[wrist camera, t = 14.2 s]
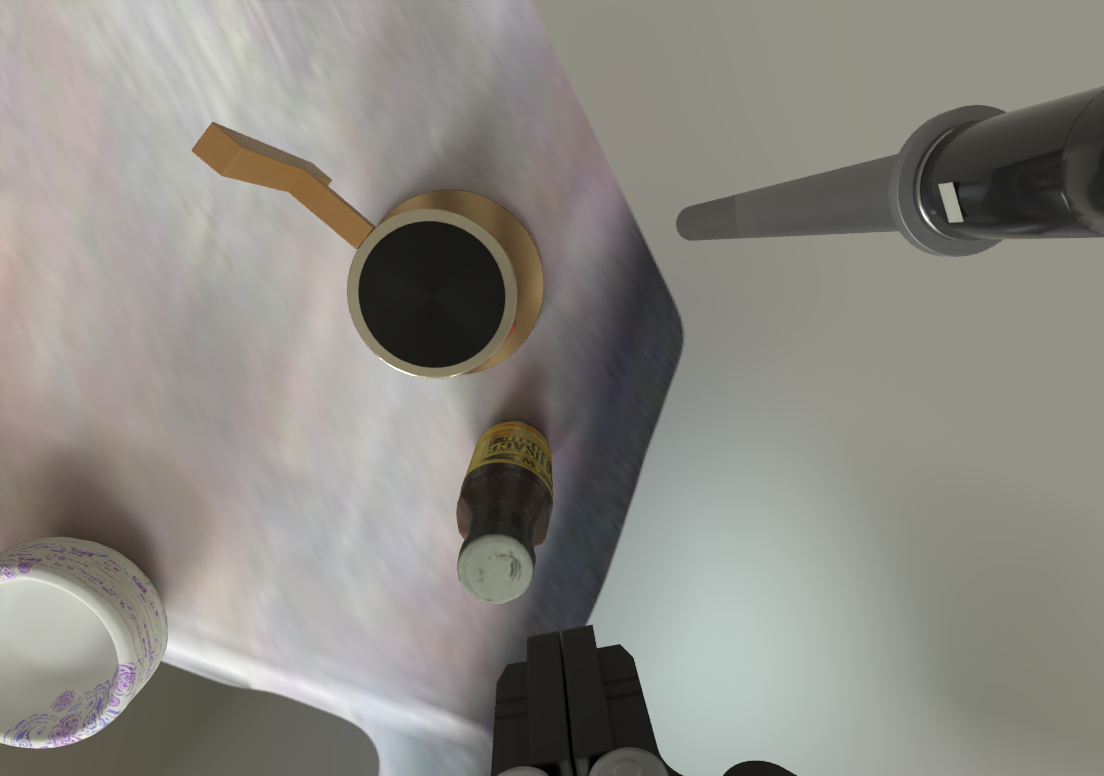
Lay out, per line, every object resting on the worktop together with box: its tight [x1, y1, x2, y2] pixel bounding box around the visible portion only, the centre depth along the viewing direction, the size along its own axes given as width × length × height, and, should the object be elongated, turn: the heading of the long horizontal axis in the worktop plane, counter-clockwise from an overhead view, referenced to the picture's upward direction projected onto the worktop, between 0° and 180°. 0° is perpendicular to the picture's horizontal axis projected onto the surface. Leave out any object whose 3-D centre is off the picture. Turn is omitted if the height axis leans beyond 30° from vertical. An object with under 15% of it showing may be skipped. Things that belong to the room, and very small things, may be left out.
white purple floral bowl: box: [0, 537, 168, 748], centre depth 48 cm, size 15×15×8 cm
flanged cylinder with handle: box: [192, 122, 518, 379], centre depth 37 cm, size 16×10×19 cm, turn 49°
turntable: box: [377, 190, 544, 374], centre depth 47 cm, size 14×14×1 cm
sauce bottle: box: [456, 420, 553, 604], centre depth 41 cm, size 7×6×20 cm
